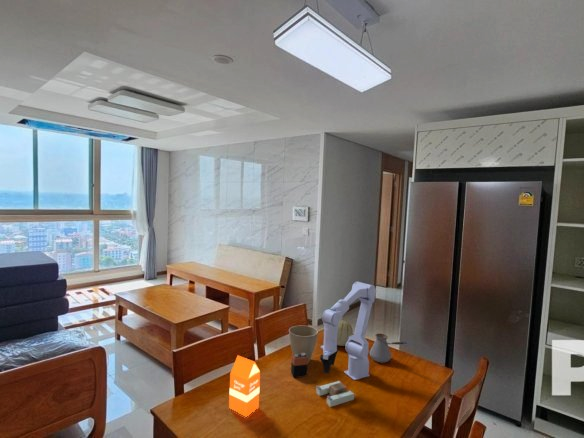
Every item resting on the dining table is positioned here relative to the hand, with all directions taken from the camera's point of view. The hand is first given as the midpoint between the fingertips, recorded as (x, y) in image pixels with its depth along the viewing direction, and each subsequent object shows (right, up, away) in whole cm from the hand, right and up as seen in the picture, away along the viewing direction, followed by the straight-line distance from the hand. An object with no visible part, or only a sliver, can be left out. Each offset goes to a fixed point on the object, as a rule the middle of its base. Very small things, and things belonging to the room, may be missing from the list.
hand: (329, 368), depth 137 cm
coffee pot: (+34, -10, +27) cm, 44 cm away
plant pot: (-11, -8, +25) cm, 29 cm away
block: (+3, -10, -3) cm, 11 cm away
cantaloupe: (+12, -9, +47) cm, 49 cm away
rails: (+2, -10, -4) cm, 11 cm away
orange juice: (-35, -9, -15) cm, 39 cm away
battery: (-13, -9, +12) cm, 20 cm away
